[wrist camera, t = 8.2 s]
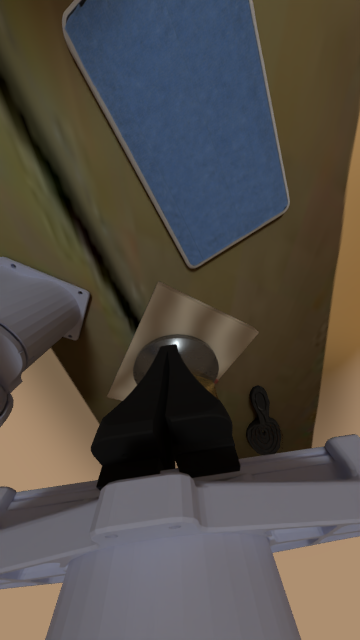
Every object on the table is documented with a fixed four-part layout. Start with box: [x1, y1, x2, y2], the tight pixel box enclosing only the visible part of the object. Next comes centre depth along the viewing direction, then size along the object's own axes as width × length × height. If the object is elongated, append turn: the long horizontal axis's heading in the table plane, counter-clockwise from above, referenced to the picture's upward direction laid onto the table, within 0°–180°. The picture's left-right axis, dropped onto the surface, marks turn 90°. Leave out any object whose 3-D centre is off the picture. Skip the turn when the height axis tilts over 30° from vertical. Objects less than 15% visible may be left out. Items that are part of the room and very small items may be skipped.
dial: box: [133, 334, 219, 399], centre depth 21 cm, size 13×13×5 cm
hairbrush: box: [246, 386, 283, 455], centre depth 34 cm, size 8×4×25 cm
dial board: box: [107, 281, 259, 401], centre depth 25 cm, size 16×22×2 cm
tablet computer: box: [62, 0, 290, 268], centre depth 13 cm, size 19×13×1 cm, turn 31°
